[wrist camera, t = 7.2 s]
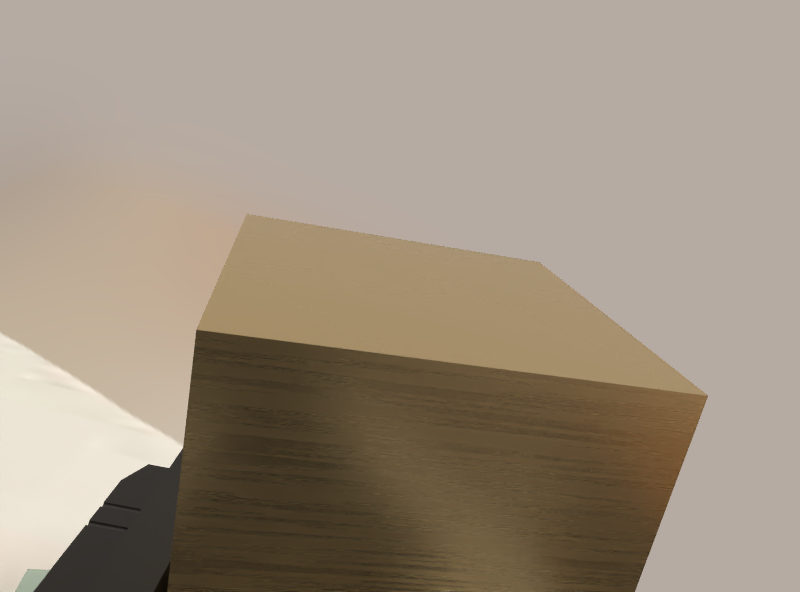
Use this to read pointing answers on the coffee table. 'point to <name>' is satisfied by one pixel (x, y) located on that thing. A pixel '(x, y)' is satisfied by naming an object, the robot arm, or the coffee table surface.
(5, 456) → the coffee table surface
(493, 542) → the plug
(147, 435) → the coffee table surface
